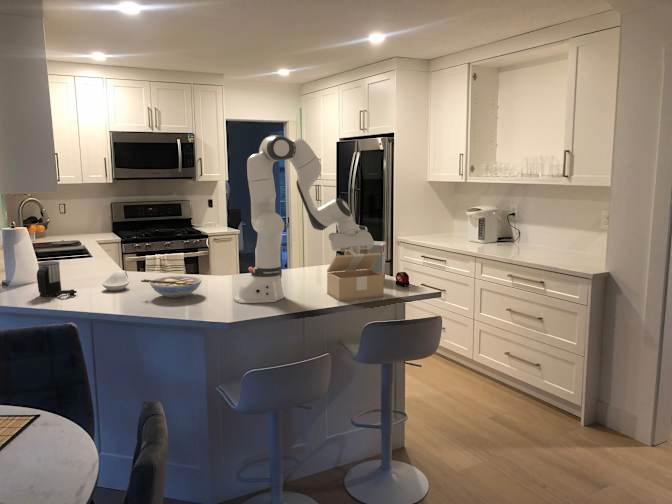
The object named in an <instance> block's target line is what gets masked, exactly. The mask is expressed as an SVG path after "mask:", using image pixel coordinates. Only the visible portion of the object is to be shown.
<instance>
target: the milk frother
mask: <svg viewBox="0 0 672 504" xmlns="http://www.w3.org/2000/svg"><path fill="white" fill-rule="evenodd" d="M60 263H61V262H60V261H59V260H58V261H57V260H56V261H55V260H54V261H53V260H52V261H51V260H48V261H47V260H46V261H40V262H38V263H37V266H38V270H37V272H36V281H37V290H38V293H39V296H41V297H56V296H60V295H69V296H74V295H75V294H77V293H78V292H77V290H75V289H74V288H73V289H69V290H68V289H67V290H66V289H64V290H62V282H61V281H62V280H61V271H60V268H61V267H60Z"/></svg>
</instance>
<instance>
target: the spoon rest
mask: <svg viewBox="0 0 672 504" xmlns="http://www.w3.org/2000/svg"><path fill="white" fill-rule="evenodd" d="M129 283H130V280H129V276H128V274H127V271H126V270H116V271H115V272H114V273H112V275H110V276H109V277H108V278H106V279H105V280H104V281H102V287H104V288H105V289H106V290H107V291H110V292H118V291H122V290H124V289H125V288H127V287H128V286H129Z"/></svg>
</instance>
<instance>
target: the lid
mask: <svg viewBox="0 0 672 504" xmlns="http://www.w3.org/2000/svg"><path fill="white" fill-rule="evenodd" d="M380 256H381V253H370V254H368V253H360V254H353V255H335V257H334V258H333V260H332V261H331V262H330V265H329V266H328V268H327V269H326V273H330V272H343V271H350V270H367V269H371V267H372V266H373V265H374V264H375V262H376V261H377V260H378V258H379V257H380Z"/></svg>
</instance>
